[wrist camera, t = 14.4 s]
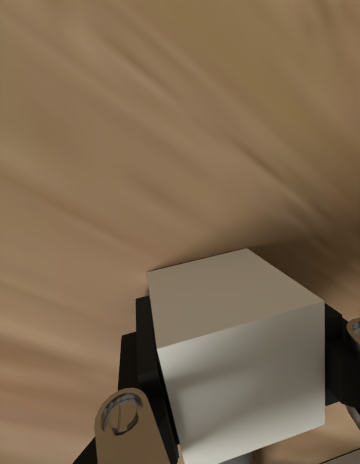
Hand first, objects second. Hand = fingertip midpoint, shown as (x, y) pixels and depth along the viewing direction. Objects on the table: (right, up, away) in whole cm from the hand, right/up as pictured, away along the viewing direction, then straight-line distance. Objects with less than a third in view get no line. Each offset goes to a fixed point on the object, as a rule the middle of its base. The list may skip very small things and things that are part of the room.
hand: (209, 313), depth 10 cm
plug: (+1, -6, +2) cm, 6 cm away
